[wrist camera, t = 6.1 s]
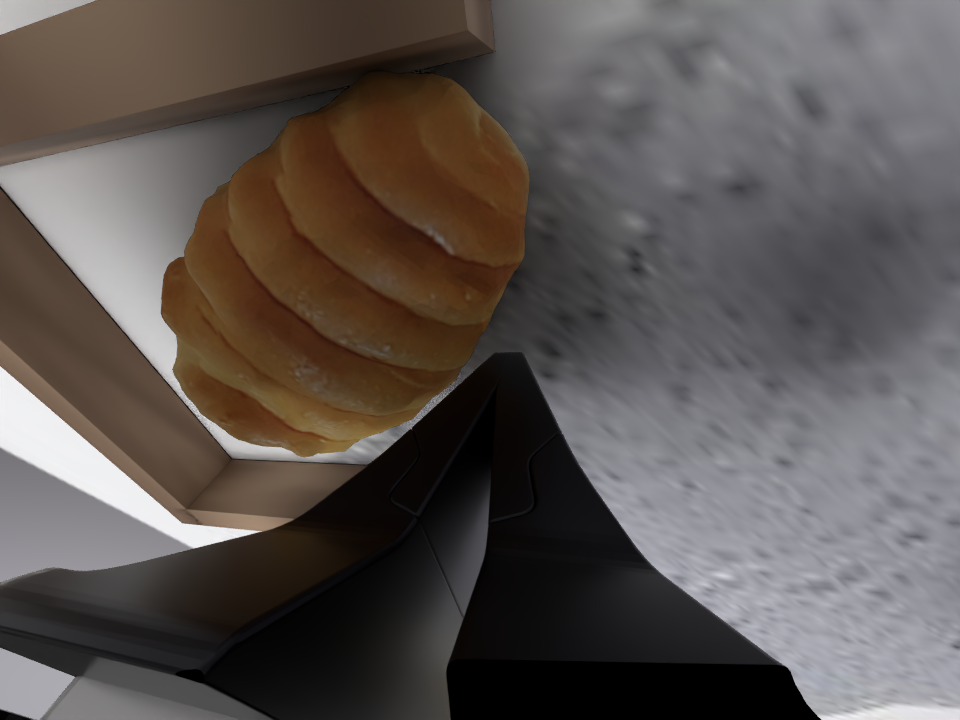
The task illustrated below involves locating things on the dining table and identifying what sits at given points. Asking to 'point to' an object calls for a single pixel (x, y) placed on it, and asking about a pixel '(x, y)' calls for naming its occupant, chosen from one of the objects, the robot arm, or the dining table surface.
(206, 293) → the pastry
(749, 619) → the dining table surface
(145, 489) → the frame
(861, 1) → the dining table surface
